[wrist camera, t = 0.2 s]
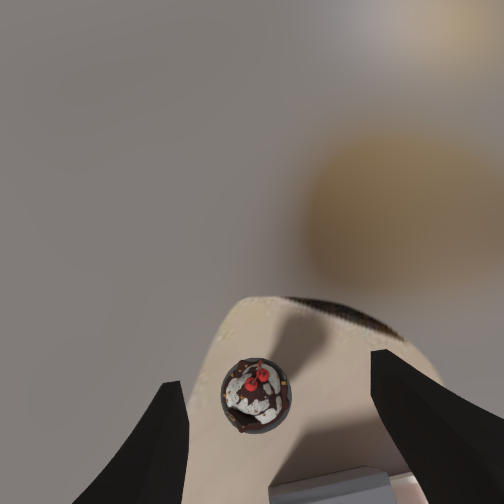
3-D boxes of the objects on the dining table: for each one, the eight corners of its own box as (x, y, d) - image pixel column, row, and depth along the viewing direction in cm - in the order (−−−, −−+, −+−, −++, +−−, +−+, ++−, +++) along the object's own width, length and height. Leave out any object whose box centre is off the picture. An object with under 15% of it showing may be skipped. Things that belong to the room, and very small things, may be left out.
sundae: (272, 365, 44) (276, 334, 31) (294, 420, 41) (308, 413, 28) (222, 384, 43) (203, 362, 30) (241, 443, 40) (229, 447, 27)
